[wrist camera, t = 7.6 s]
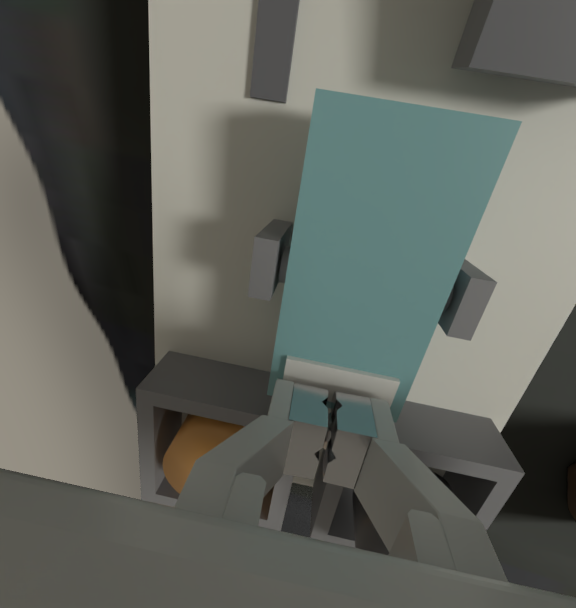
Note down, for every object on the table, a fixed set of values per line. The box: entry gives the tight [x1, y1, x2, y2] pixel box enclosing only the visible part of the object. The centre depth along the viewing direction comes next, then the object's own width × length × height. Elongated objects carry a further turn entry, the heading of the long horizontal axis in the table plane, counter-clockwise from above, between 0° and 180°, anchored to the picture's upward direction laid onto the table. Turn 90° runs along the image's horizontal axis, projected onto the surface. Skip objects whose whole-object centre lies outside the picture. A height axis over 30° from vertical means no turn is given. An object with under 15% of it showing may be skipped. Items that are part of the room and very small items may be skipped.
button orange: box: [163, 414, 245, 494], centre depth 13 cm, size 4×4×2 cm
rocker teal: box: [267, 88, 522, 422], centre depth 9 cm, size 8×4×2 cm, turn 171°
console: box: [136, 0, 576, 548], centre depth 10 cm, size 28×14×7 cm, turn 171°
